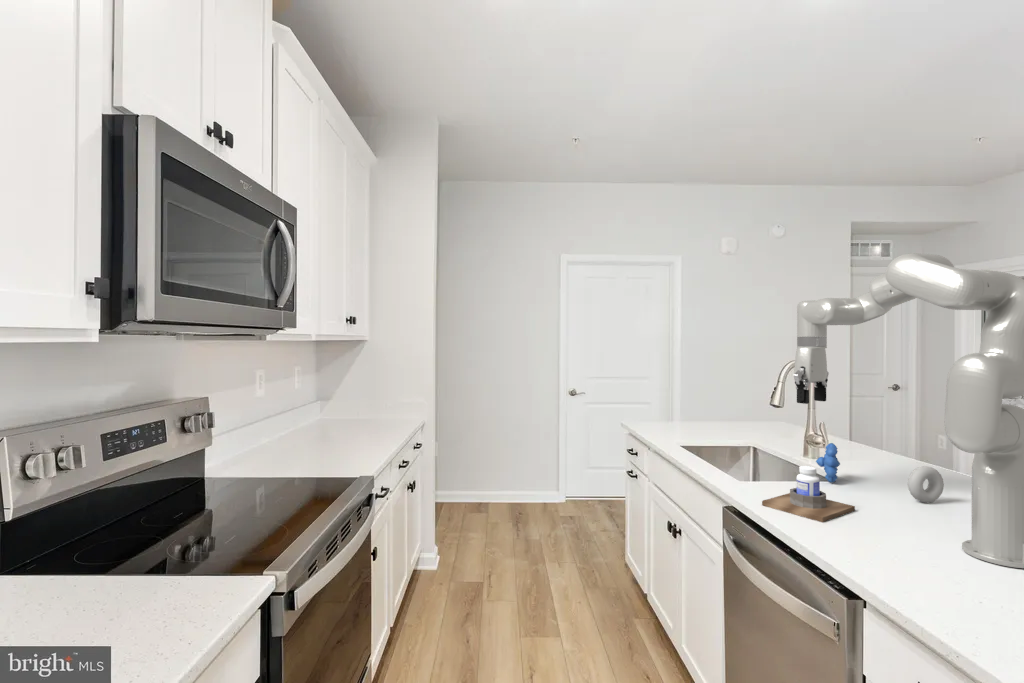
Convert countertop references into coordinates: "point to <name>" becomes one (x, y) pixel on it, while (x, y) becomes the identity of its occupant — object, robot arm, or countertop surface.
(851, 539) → the countertop surface
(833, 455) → the grapes
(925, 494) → the donut
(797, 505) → the base
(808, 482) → the pill bottle
